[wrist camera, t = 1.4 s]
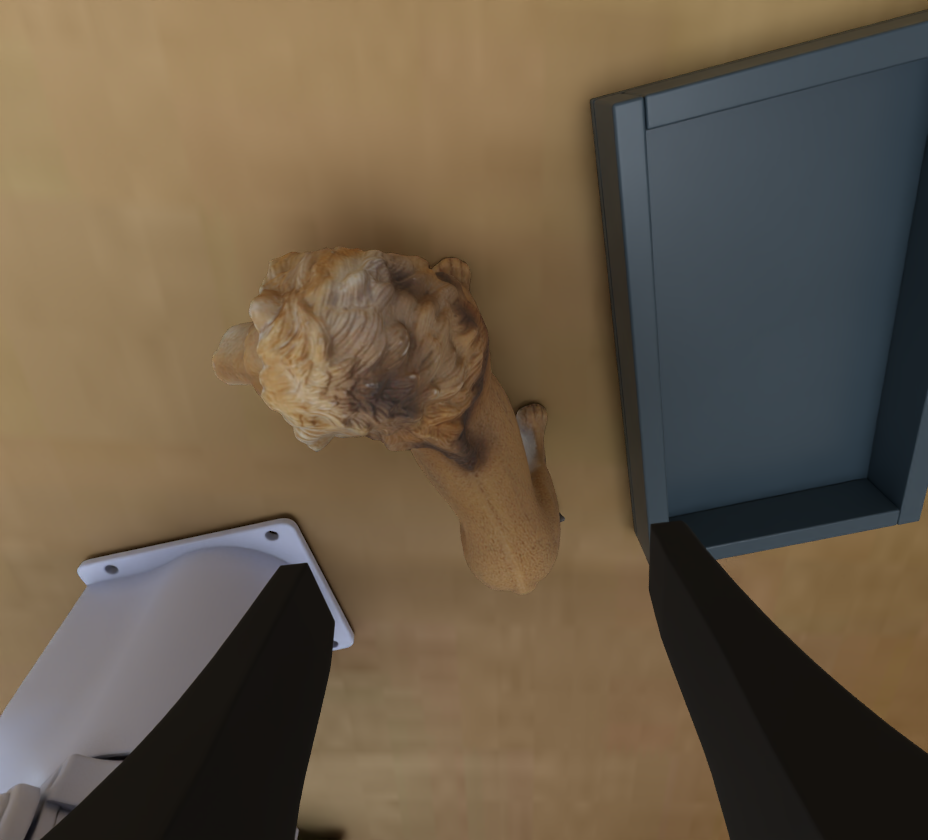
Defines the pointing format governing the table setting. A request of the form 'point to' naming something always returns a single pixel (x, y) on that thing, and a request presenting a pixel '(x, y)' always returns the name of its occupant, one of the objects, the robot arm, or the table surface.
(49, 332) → the table surface
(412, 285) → the lion figurine
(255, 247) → the table surface
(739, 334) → the tray
